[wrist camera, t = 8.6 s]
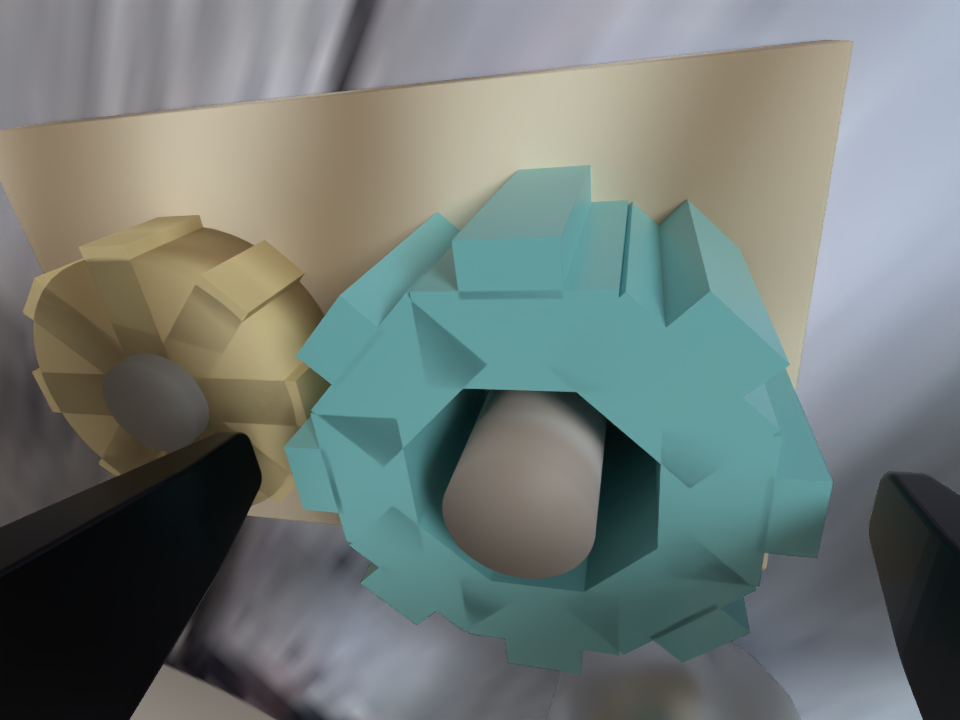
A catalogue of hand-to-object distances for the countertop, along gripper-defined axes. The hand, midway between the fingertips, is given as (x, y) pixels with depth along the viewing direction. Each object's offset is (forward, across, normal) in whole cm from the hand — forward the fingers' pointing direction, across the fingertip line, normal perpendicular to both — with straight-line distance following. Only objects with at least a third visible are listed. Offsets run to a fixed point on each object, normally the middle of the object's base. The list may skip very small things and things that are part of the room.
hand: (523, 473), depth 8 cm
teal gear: (+4, 0, 0) cm, 4 cm away
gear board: (+5, +4, 0) cm, 6 cm away
